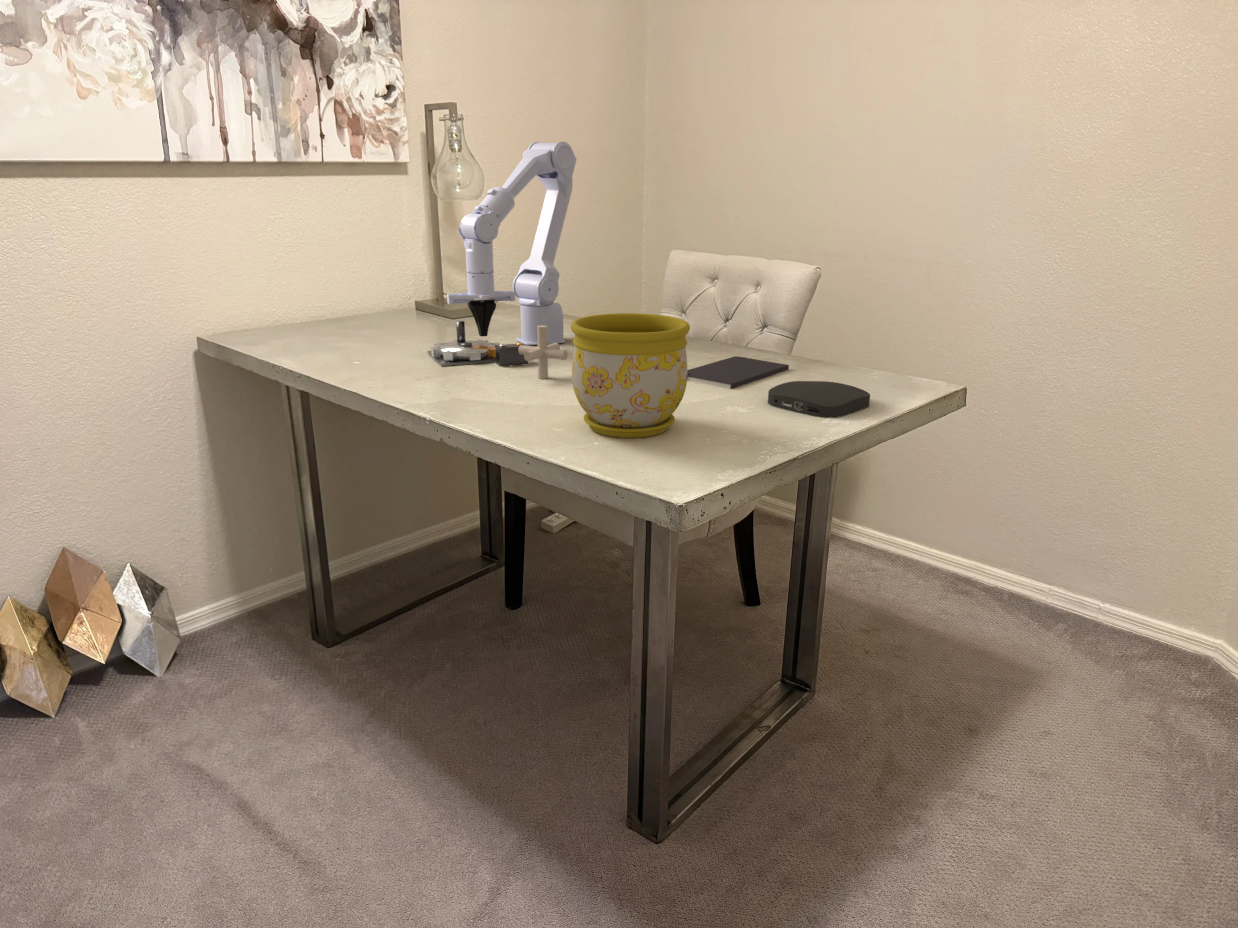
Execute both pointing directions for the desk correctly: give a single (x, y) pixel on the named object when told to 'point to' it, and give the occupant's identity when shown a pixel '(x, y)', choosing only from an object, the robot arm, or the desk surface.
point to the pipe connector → (542, 352)
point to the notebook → (734, 372)
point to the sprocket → (464, 347)
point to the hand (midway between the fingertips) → (483, 335)
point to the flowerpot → (629, 372)
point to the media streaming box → (818, 398)
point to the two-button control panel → (509, 355)
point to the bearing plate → (460, 360)
